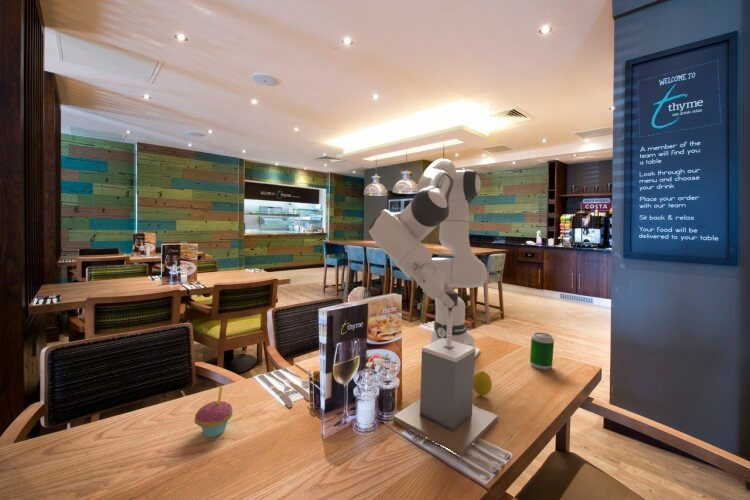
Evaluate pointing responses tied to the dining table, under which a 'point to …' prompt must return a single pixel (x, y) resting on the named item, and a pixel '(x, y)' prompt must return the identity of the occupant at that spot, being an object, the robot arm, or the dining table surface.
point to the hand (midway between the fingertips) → (452, 301)
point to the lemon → (482, 383)
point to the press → (447, 399)
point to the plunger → (450, 318)
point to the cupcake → (214, 416)
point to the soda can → (541, 351)
